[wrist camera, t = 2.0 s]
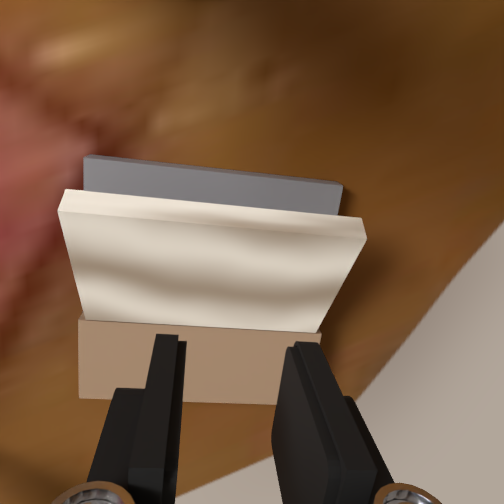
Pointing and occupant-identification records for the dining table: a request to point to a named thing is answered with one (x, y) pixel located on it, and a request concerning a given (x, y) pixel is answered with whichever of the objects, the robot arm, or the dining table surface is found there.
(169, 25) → the dining table surface
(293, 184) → the floor sample board
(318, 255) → the pale plank
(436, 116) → the dining table surface
